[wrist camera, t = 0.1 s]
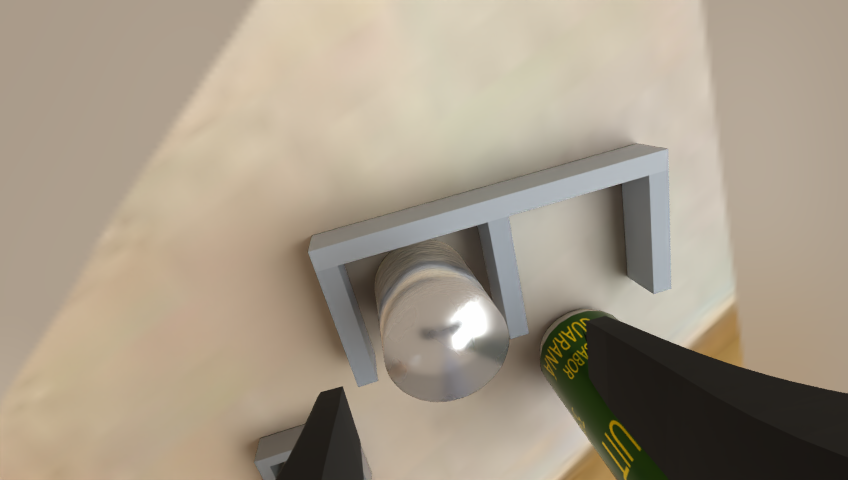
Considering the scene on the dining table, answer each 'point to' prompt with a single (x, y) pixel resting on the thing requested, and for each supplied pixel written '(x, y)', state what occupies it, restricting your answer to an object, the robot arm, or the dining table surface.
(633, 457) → the beer can
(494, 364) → the metal billet
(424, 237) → the grey piece
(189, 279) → the dining table surface
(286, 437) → the button housing
